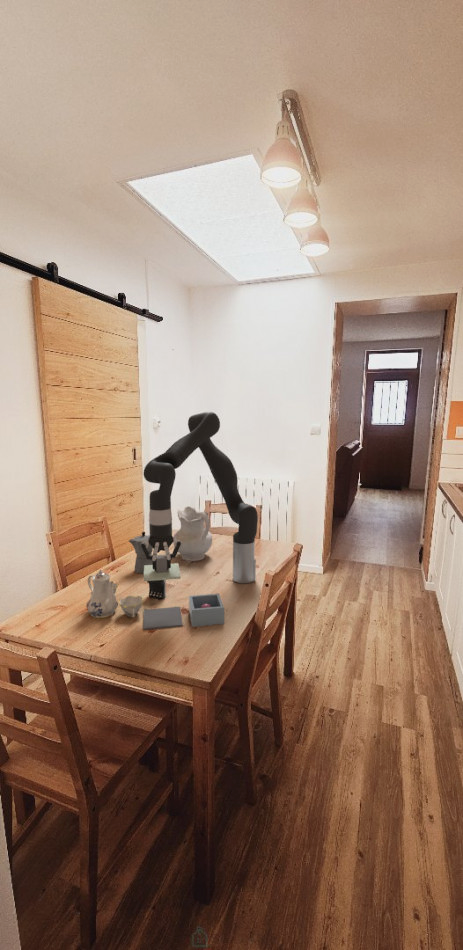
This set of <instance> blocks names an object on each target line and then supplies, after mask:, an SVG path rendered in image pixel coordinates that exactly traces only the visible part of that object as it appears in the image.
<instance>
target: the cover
mask: <svg viewBox="0 0 463 950" xmlns="http://www.w3.org/2000/svg"><path fill="white" fill-rule="evenodd" d="M156 567H157V571H155V569H154V570H153V565H144V574H143V582H147V581H154V580H166V581H167V580H179V579H180V580H181V572H180V565H179V562H177V563H176V562H174V563H171V568H169V570H167V556H166V554H157V556H156Z"/></svg>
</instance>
